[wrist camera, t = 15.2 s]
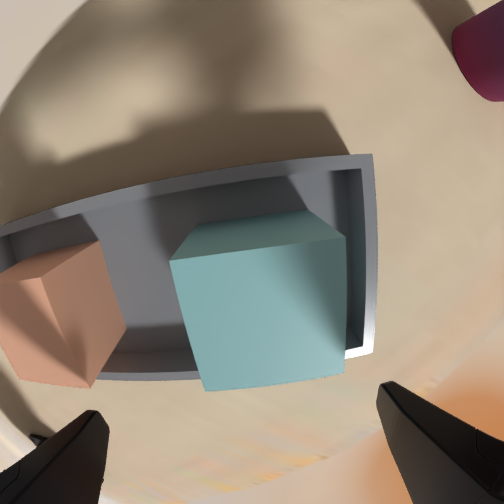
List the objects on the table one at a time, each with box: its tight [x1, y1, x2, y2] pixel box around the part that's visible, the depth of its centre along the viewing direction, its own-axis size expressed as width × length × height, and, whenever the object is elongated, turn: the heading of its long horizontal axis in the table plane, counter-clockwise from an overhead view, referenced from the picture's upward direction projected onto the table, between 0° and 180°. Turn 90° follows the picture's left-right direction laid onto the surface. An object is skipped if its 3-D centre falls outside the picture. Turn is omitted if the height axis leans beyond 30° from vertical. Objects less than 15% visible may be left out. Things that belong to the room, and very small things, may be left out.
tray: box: [0, 154, 378, 381], centre depth 12 cm, size 18×8×2 cm, turn 98°
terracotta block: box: [0, 240, 127, 389], centre depth 10 cm, size 4×4×4 cm
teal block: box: [169, 210, 347, 391], centre depth 10 cm, size 4×4×4 cm
